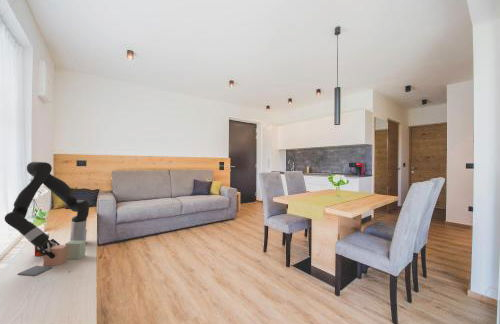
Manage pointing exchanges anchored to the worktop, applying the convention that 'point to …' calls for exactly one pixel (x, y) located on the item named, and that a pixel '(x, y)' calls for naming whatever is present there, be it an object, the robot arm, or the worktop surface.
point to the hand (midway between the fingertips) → (57, 254)
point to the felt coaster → (34, 270)
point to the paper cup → (38, 246)
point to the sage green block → (75, 249)
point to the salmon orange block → (56, 255)
